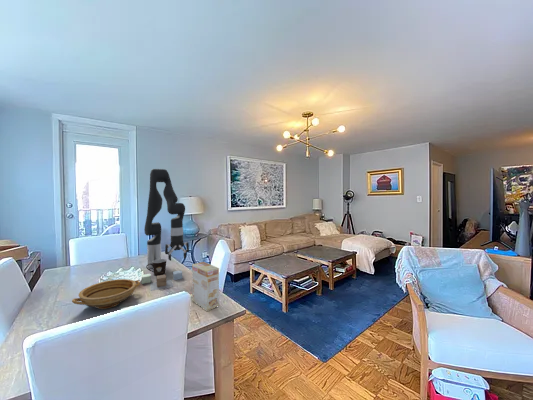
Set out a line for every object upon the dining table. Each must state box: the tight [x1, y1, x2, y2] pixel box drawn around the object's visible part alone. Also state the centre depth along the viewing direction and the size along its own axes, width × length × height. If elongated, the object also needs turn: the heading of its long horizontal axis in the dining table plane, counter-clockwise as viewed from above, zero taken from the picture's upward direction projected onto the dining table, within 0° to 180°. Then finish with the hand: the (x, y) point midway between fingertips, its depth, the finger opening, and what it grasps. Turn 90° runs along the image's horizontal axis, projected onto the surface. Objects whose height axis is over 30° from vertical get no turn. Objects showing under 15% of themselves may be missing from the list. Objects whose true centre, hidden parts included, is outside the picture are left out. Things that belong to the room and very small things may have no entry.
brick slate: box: [172, 269, 183, 281], centre depth 150 cm, size 5×5×5 cm
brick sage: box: [141, 273, 152, 285], centre depth 144 cm, size 5×5×5 cm
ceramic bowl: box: [71, 278, 141, 310], centre depth 118 cm, size 30×24×8 cm
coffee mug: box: [146, 258, 167, 277], centre depth 157 cm, size 12×9×10 cm
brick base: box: [156, 274, 167, 287], centre depth 139 cm, size 5×5×5 cm
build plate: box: [149, 279, 174, 291], centre depth 139 cm, size 12×12×1 cm
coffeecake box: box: [191, 261, 220, 312], centre depth 117 cm, size 15×7×20 cm, turn 44°
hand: (177, 259), depth 149 cm, fingers open, 8 cm apart
